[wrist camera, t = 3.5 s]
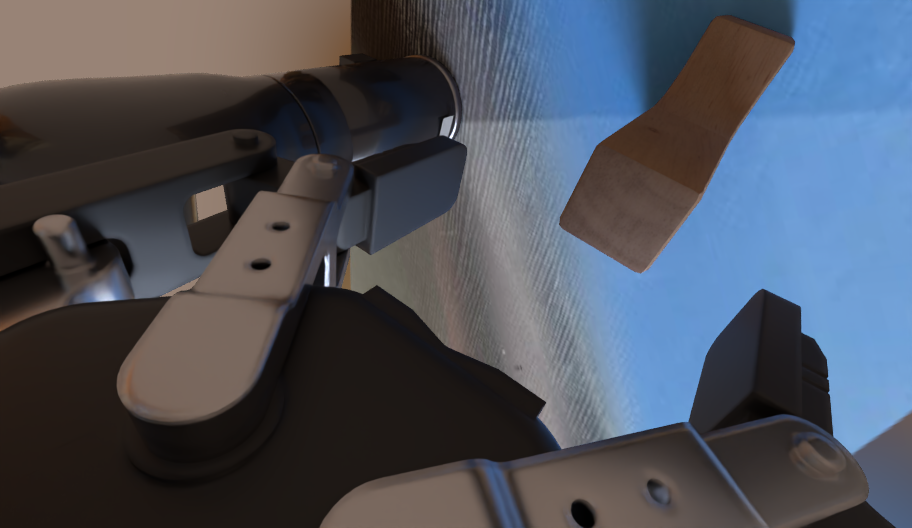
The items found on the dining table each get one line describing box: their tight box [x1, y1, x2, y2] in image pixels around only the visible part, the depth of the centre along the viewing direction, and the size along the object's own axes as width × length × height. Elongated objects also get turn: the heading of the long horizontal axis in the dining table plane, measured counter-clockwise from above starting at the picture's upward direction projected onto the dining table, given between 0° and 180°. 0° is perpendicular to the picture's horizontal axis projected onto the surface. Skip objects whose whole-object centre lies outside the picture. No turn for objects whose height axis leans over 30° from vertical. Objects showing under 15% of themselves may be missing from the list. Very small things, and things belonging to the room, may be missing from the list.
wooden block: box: [559, 15, 795, 273], centre depth 22 cm, size 9×4×18 cm, turn 162°
